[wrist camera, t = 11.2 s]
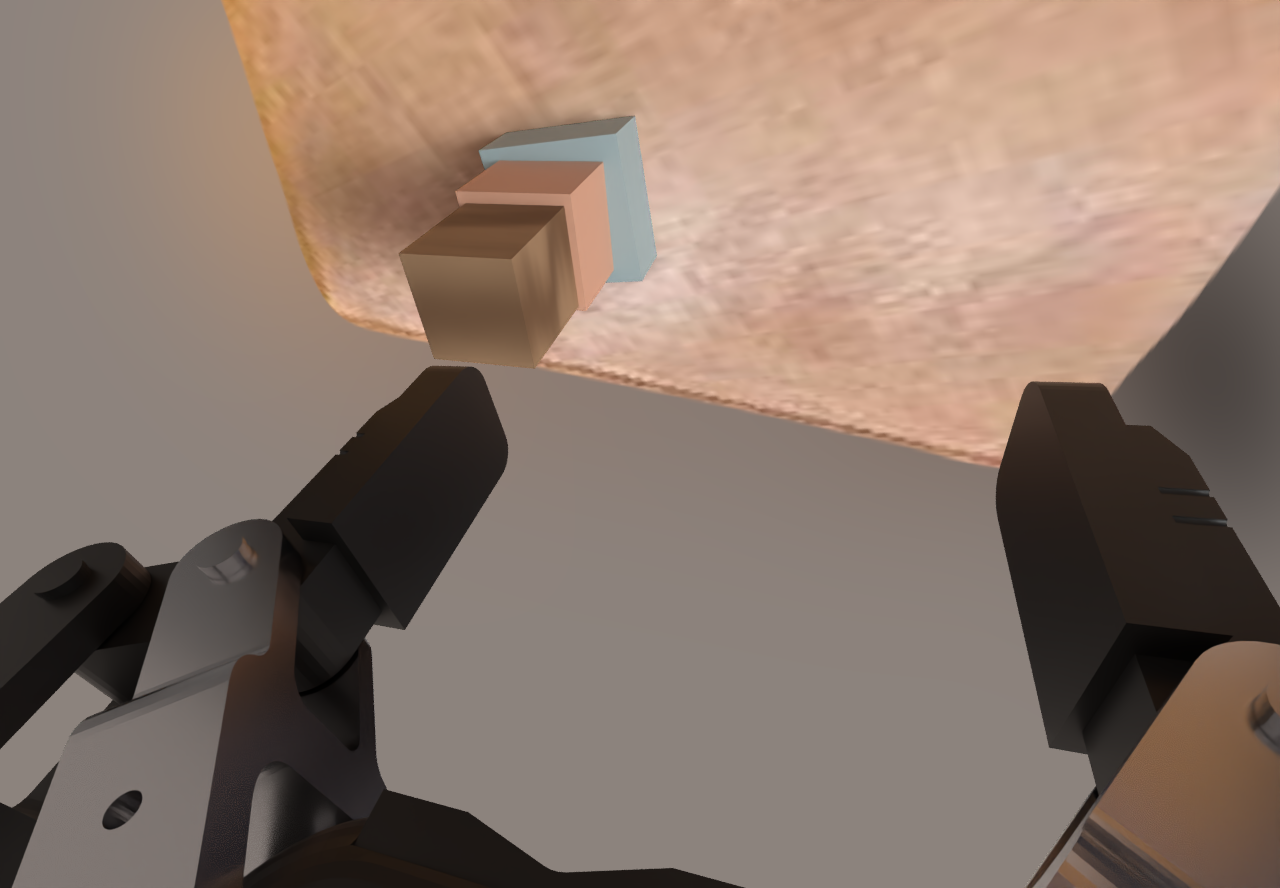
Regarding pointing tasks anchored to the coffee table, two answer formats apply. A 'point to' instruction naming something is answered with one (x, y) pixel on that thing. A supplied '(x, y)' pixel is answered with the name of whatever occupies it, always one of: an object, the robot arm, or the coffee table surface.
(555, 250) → the walnut block
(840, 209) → the coffee table surface
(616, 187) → the tower base
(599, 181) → the tower top
